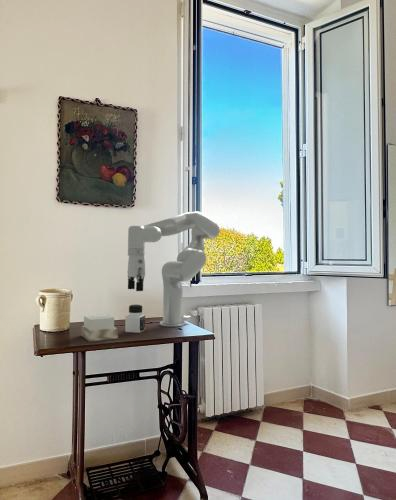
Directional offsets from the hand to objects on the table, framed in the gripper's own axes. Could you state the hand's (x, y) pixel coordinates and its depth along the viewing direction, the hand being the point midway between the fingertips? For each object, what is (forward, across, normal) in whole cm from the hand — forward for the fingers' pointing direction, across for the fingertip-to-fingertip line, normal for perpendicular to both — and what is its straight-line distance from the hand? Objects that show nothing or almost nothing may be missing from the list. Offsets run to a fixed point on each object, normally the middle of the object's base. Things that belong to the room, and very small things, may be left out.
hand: (135, 290), depth 176 cm
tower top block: (+15, -4, +18) cm, 24 cm away
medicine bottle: (+19, 0, 0) cm, 19 cm away
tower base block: (+20, -4, +18) cm, 26 cm away
